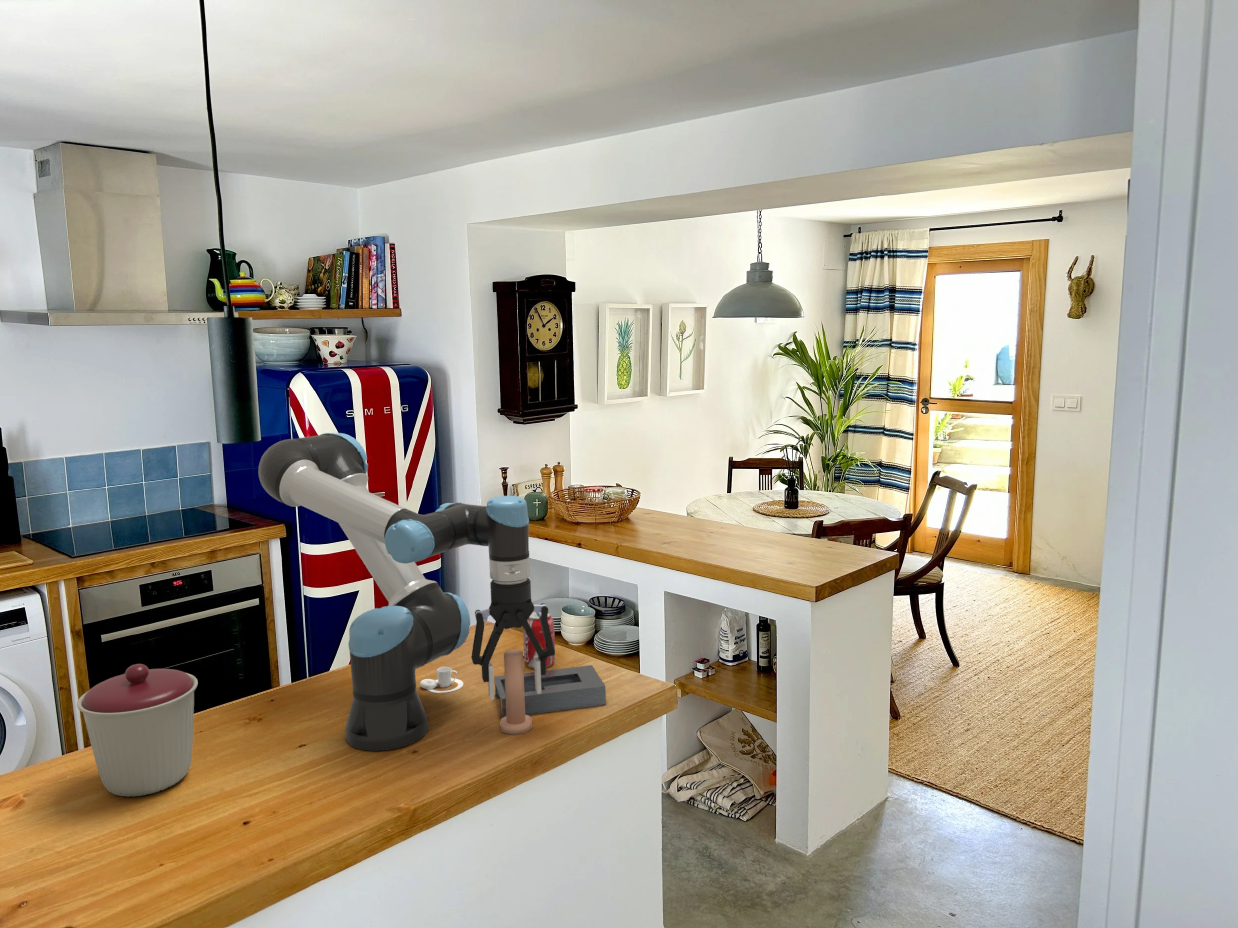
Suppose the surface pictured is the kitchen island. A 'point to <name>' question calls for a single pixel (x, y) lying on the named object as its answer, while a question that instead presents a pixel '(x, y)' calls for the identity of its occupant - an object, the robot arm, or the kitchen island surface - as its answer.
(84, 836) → the kitchen island surface
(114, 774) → the canister
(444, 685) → the teacup and saucer
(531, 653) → the soda can
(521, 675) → the terracotta peg
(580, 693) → the keyhole plate
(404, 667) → the robot arm
